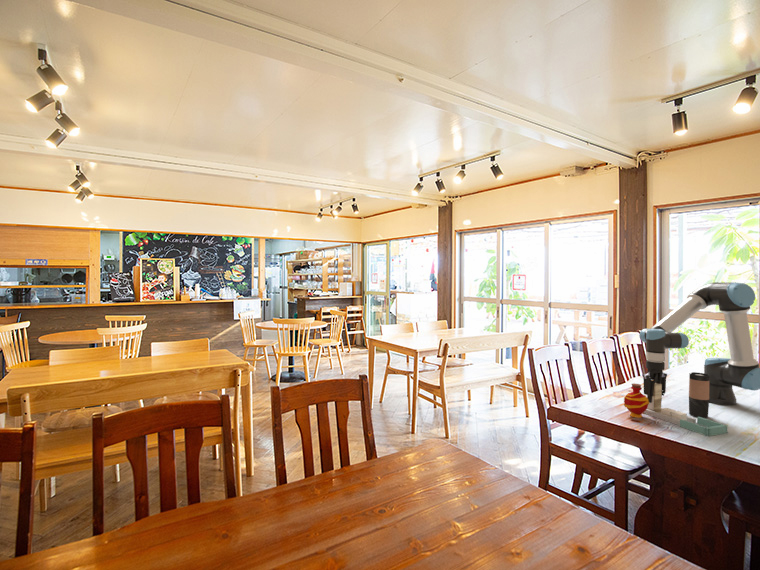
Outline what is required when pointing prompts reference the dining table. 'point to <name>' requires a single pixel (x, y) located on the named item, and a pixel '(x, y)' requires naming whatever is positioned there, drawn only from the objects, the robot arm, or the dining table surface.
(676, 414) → the cube
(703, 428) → the tray
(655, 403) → the light wood tall block
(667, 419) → the slot rail
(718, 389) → the robot arm
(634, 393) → the potion bottle
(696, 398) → the travel mug
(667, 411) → the cube
